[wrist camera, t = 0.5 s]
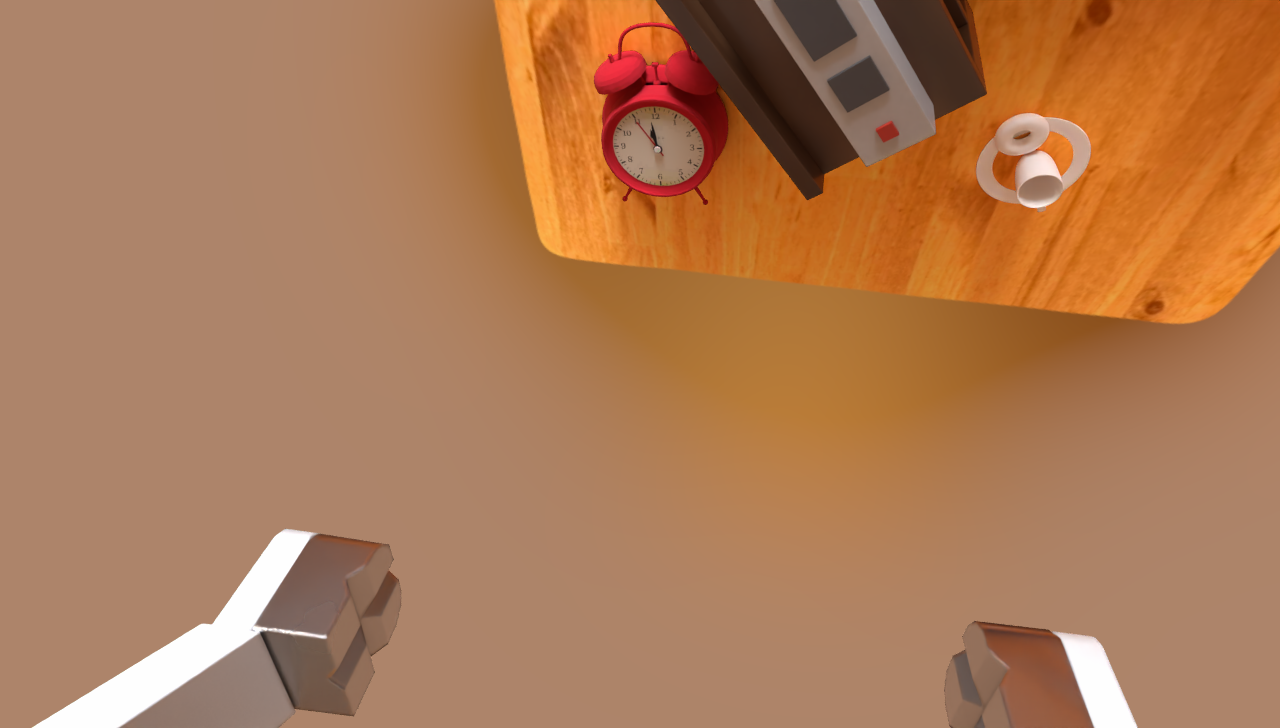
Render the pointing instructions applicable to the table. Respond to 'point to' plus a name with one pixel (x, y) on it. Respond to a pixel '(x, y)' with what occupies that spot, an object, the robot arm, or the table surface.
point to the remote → (856, 72)
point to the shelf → (784, 98)
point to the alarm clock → (660, 120)
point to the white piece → (1033, 160)
